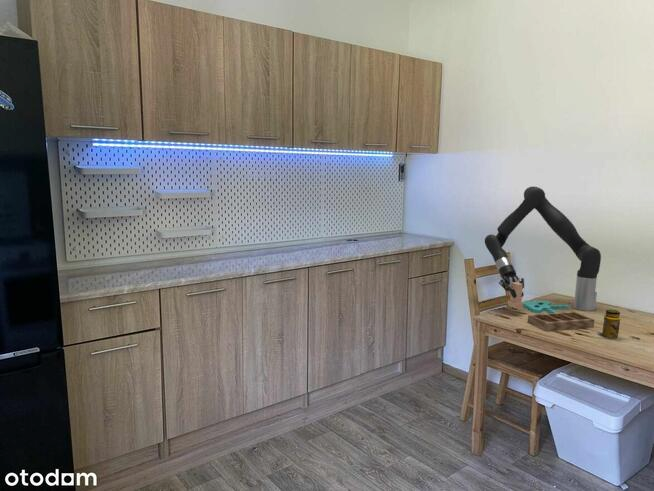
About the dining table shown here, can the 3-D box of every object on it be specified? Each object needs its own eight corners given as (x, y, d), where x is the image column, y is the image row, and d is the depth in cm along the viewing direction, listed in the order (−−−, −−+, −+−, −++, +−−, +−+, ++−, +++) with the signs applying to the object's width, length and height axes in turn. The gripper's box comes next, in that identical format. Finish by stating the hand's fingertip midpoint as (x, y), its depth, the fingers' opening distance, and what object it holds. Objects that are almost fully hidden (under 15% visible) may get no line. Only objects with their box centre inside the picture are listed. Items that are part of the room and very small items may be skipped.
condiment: (619, 340, 206) (622, 314, 204) (596, 337, 210) (599, 311, 208) (618, 335, 212) (621, 309, 210) (596, 332, 216) (599, 306, 214)
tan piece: (507, 305, 243) (509, 282, 241) (515, 304, 244) (517, 281, 242) (515, 308, 237) (516, 284, 235) (523, 307, 238) (524, 284, 236)
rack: (572, 318, 235) (573, 311, 235) (593, 327, 223) (594, 319, 222) (527, 322, 229) (528, 314, 228) (546, 331, 217) (546, 323, 216)
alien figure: (568, 309, 253) (529, 302, 265) (568, 305, 253) (529, 298, 265) (558, 318, 238) (517, 310, 250) (558, 313, 237) (517, 306, 250)
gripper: (496, 264, 243) (510, 294, 233) (520, 263, 246) (534, 292, 237) (490, 272, 249) (502, 301, 239) (513, 271, 252) (527, 299, 243)
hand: (518, 296), depth 238 cm, fingers closed on tan piece, 3 cm apart
